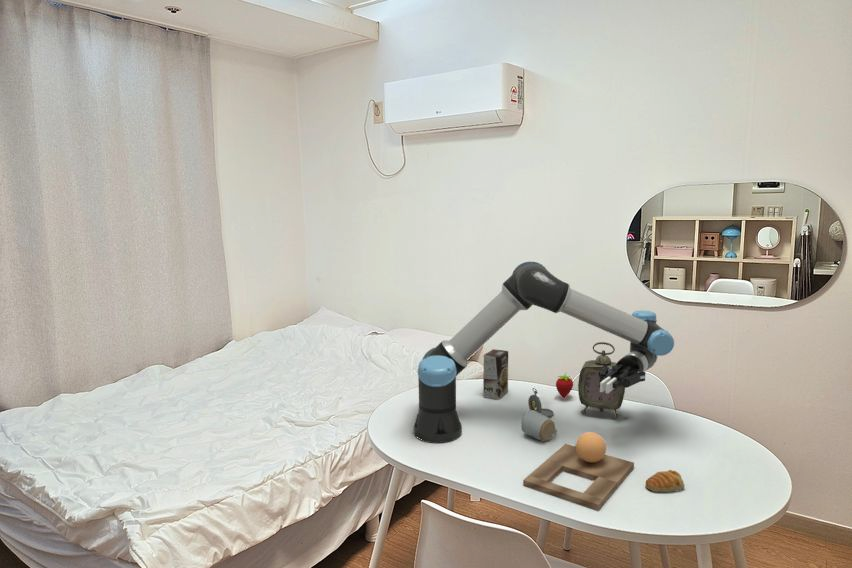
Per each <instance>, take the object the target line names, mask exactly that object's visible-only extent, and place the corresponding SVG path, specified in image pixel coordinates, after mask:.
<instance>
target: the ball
mask: <svg viewBox="0 0 852 568" xmlns="http://www.w3.org/2000/svg"><path fill="white" fill-rule="evenodd" d="M575 442H576V443H575V446H576V451H577V453H578V455H579V456H580V458H581V459H583V460H584V461H586V462H591V463H594V462H598V461H600V460H601V459H602V458H603V457H604V455H606V453H607V446H606V442H605V440H604V438H603V437H602V436H601V435H599V434H597V433H596V432H592V431H588V432H584V433H582V434H581V435H580V436H579V437H578V438H577V440H576V441H575Z"/></svg>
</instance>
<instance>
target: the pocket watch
mask: <svg viewBox="0 0 852 568" xmlns="http://www.w3.org/2000/svg"><path fill="white" fill-rule="evenodd" d="M532 391H533V394H532V395H530V396H529V397H528V400H527V401H528V408H529V411H530V410H534V411H537V412H538V413H540V414H542V415H544V416H546V417H548V418H552V417H553V416H554V411H553V410H552V409H549V408H543V407H542V406H543V405H542V402H541V400H540V397H539V396H538V395H537V394H538V390H537V389H536V388H532Z"/></svg>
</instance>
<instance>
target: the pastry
mask: <svg viewBox="0 0 852 568" xmlns="http://www.w3.org/2000/svg"><path fill="white" fill-rule="evenodd" d="M644 486H645V488H646V489H648V490H650V491H652V492H654V493H667V492H669V493H672V492H671V491H673V492H677V491H676V490H679V491H681V490H680V489H682V490H683V489H684V488H685V486H686V485H685V483H684V480H683V478H682V475H681V474H680V473H679V472H678V471H676V470H672V469H669V470H666V471H657V472H656V473H655V474H652V475H651V476H650V477H649V478H647V479H646V481H645V485H644Z"/></svg>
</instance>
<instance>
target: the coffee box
mask: <svg viewBox="0 0 852 568" xmlns="http://www.w3.org/2000/svg"><path fill="white" fill-rule="evenodd" d="M482 379H483V381H482V383H483V384H482V385H483V389H482V391H483V393H482V396H483V398H488V399H493V400H501V398H502V397H504V396H505V395H507V394H508V393H509V350H504V349H503V350H502V349H494V348H493V349H491V350H490V351H488V352H486V353H485V354H483V378H482Z"/></svg>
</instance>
